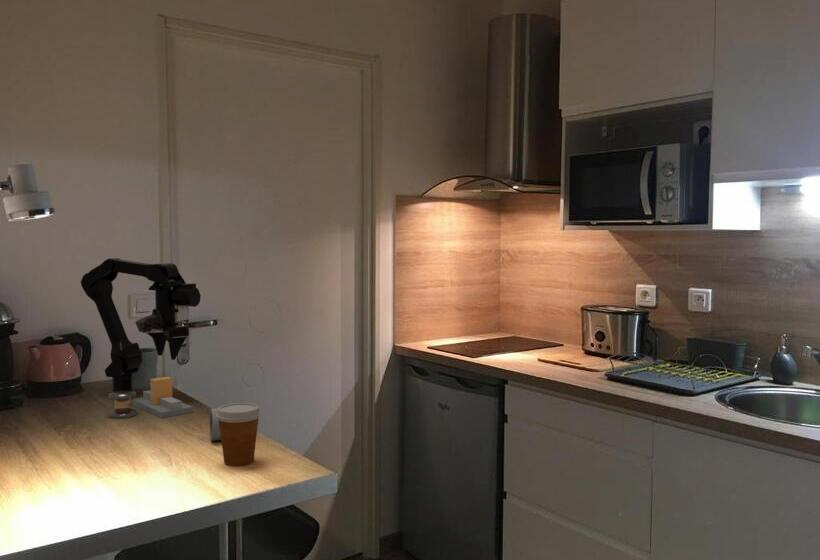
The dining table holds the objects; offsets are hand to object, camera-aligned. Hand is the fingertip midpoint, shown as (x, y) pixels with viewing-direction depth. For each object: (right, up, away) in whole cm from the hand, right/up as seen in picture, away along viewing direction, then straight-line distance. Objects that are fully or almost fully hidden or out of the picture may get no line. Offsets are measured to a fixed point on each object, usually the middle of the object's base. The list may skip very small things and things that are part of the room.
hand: (166, 357), depth 210 cm
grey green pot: (-14, -12, +17) cm, 25 cm away
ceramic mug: (+28, -16, -38) cm, 50 cm away
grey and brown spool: (-6, -14, -18) cm, 23 cm away
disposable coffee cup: (+35, -17, -56) cm, 68 cm away
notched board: (+2, -13, -11) cm, 17 cm away
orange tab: (+2, -12, -11) cm, 16 cm away
